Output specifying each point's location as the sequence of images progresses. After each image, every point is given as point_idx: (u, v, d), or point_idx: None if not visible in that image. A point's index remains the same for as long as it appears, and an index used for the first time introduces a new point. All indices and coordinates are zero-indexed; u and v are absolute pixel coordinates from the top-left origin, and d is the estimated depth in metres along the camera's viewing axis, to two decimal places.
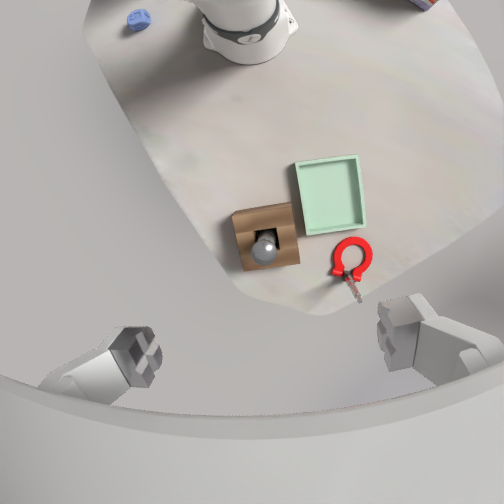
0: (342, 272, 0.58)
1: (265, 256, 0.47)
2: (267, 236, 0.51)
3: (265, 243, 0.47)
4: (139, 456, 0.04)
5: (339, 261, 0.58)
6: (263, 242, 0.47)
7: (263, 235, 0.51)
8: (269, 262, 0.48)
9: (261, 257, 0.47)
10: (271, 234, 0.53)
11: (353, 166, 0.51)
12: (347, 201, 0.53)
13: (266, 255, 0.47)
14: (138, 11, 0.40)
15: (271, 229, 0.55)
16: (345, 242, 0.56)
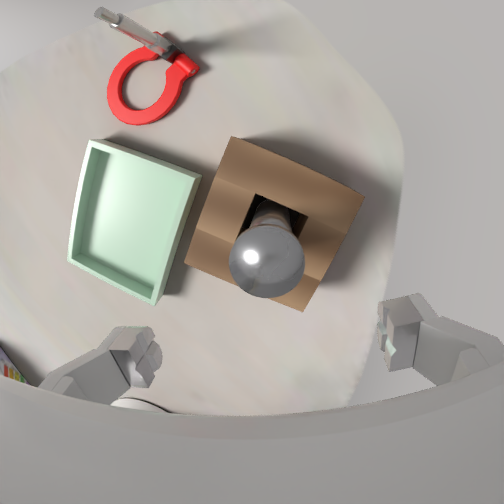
0: (174, 62, 0.21)
1: (267, 255, 0.16)
2: None
3: (245, 285, 0.16)
4: (139, 456, 0.04)
5: (169, 86, 0.22)
6: (249, 290, 0.17)
7: None
8: (268, 233, 0.15)
9: (279, 260, 0.16)
10: None
11: (83, 241, 0.29)
12: (108, 193, 0.27)
13: (263, 256, 0.16)
14: None
15: None
16: (141, 119, 0.24)
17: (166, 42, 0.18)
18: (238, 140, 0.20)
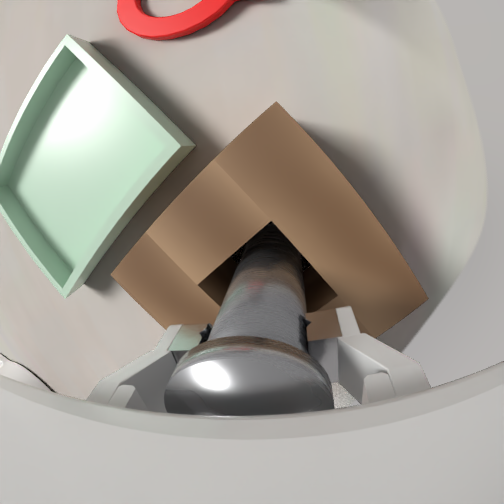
0: None
1: (258, 410, 0.06)
2: None
3: None
4: (139, 456, 0.04)
5: None
6: None
7: None
8: (284, 380, 0.05)
9: None
10: None
11: (14, 171, 0.16)
12: (61, 118, 0.15)
13: (248, 408, 0.06)
14: None
15: None
16: (147, 29, 0.12)
17: None
18: (285, 114, 0.10)
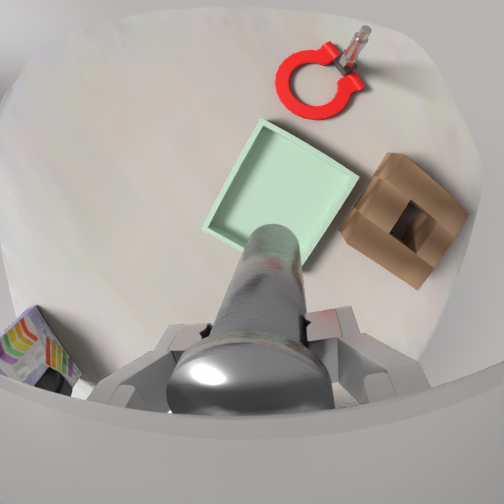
0: (347, 75, 0.26)
1: (259, 404, 0.06)
2: None
3: None
4: (139, 456, 0.04)
5: (340, 94, 0.27)
6: None
7: None
8: (285, 373, 0.06)
9: None
10: None
11: (219, 212, 0.33)
12: (263, 171, 0.31)
13: (249, 402, 0.06)
14: None
15: None
16: (310, 114, 0.28)
17: None
18: (407, 159, 0.25)
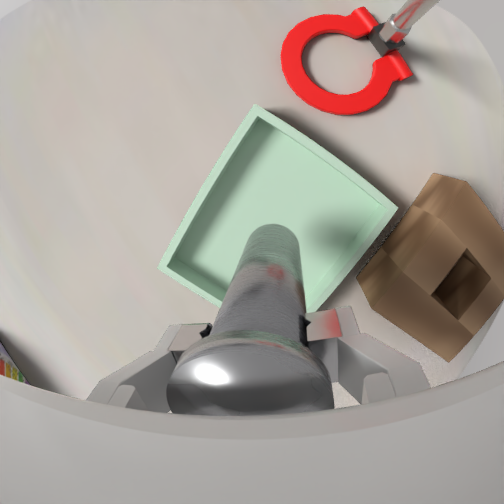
0: (389, 55, 0.15)
1: (259, 403, 0.06)
2: None
3: None
4: (139, 457, 0.04)
5: (377, 81, 0.17)
6: None
7: None
8: (285, 373, 0.06)
9: None
10: None
11: (185, 243, 0.23)
12: (253, 187, 0.21)
13: (249, 401, 0.06)
14: None
15: None
16: (332, 106, 0.18)
17: None
18: (470, 189, 0.15)
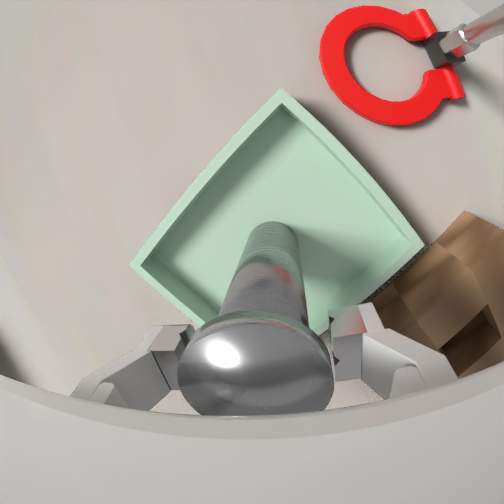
0: (444, 69, 0.12)
1: (265, 380, 0.07)
2: None
3: (197, 402, 0.07)
4: (139, 456, 0.04)
5: (427, 94, 0.13)
6: (200, 409, 0.07)
7: None
8: (288, 348, 0.06)
9: (282, 394, 0.07)
10: None
11: (166, 240, 0.19)
12: (259, 189, 0.17)
13: (255, 378, 0.07)
14: None
15: None
16: (371, 110, 0.14)
17: None
18: None
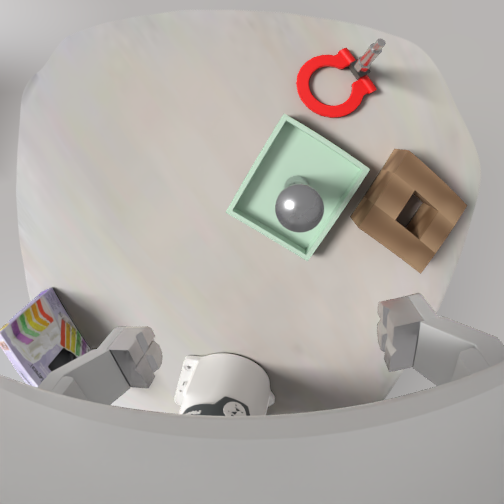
0: (361, 79, 0.28)
1: (301, 203, 0.24)
2: None
3: (282, 220, 0.25)
4: (139, 456, 0.04)
5: (354, 96, 0.30)
6: (284, 224, 0.25)
7: None
8: (305, 189, 0.24)
9: (308, 208, 0.24)
10: None
11: (242, 197, 0.36)
12: (284, 161, 0.34)
13: (298, 203, 0.24)
14: None
15: None
16: (327, 112, 0.31)
17: None
18: (412, 154, 0.27)
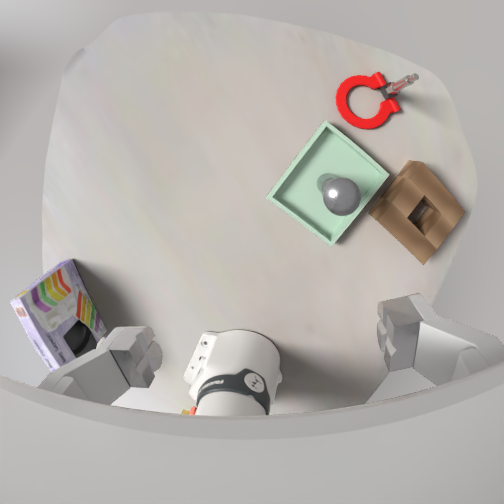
0: (389, 99, 0.34)
1: (344, 192, 0.29)
2: None
3: (328, 204, 0.30)
4: (139, 456, 0.04)
5: (382, 113, 0.35)
6: (329, 208, 0.30)
7: None
8: (348, 182, 0.29)
9: (349, 197, 0.29)
10: (321, 189, 0.36)
11: (280, 186, 0.42)
12: (319, 160, 0.39)
13: (342, 192, 0.29)
14: None
15: (318, 187, 0.39)
16: (359, 124, 0.37)
17: None
18: (425, 165, 0.33)
